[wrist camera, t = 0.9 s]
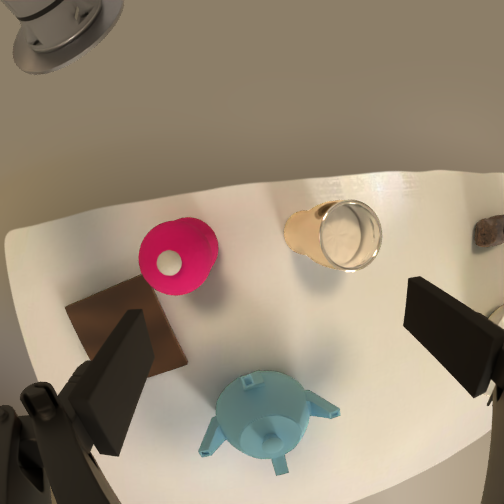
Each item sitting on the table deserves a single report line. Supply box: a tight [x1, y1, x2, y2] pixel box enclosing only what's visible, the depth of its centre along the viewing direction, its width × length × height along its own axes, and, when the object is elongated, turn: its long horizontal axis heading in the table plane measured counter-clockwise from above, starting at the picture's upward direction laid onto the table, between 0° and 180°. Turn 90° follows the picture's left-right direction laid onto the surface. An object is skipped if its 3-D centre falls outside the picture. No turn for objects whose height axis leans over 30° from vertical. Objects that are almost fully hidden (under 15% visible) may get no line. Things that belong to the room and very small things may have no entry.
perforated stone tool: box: [475, 215, 504, 247], centre depth 43 cm, size 15×5×7 cm, turn 99°
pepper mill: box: [139, 217, 218, 295], centre depth 30 cm, size 7×7×20 cm
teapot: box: [198, 370, 340, 476], centre depth 37 cm, size 15×15×11 cm
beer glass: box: [284, 200, 382, 272], centre depth 34 cm, size 7×7×15 cm
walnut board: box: [65, 274, 188, 378], centre depth 39 cm, size 14×14×1 cm
